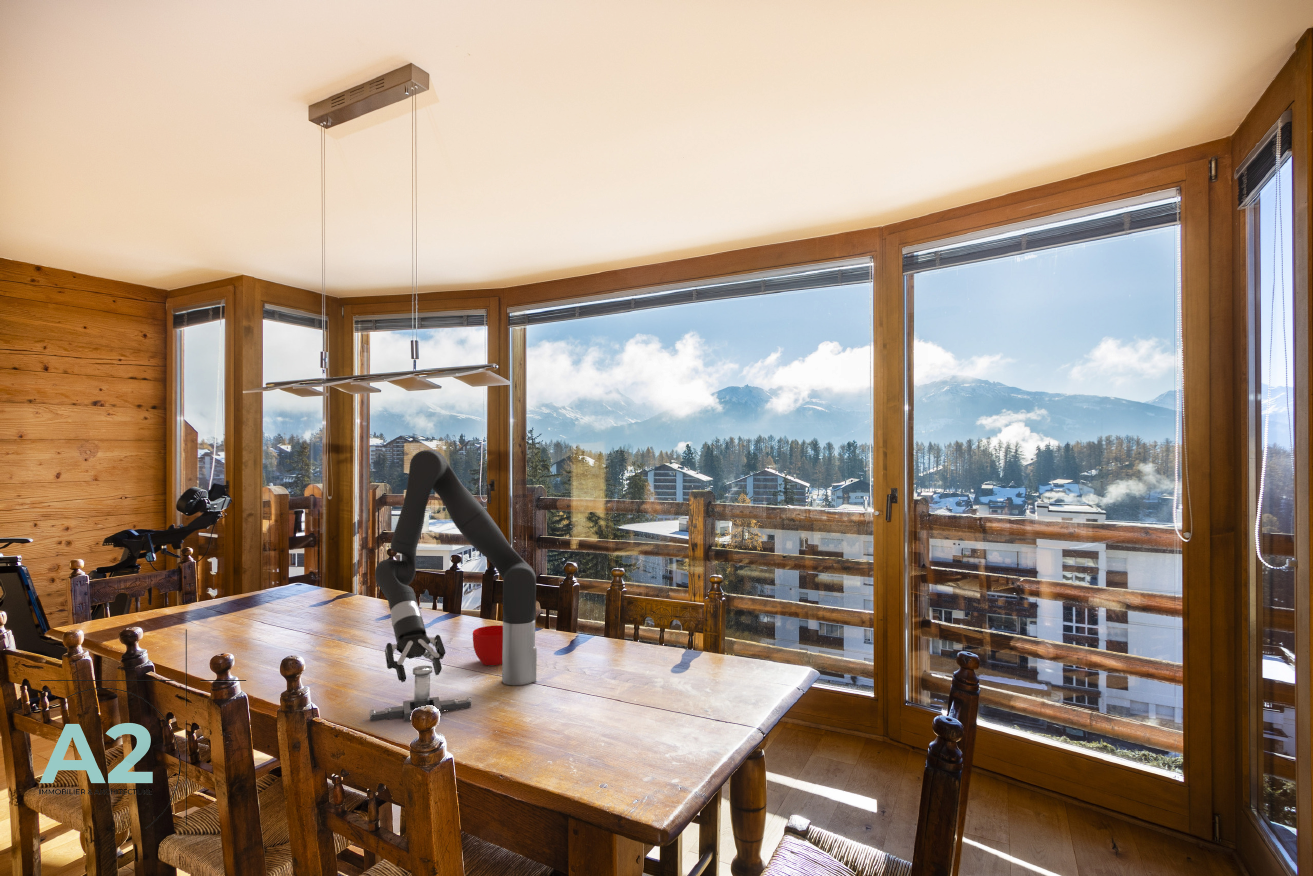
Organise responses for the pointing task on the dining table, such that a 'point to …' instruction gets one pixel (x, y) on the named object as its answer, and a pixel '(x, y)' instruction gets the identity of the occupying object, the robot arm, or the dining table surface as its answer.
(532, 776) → the dining table surface
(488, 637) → the ceramic cup
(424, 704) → the pin
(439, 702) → the tap wrench handle
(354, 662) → the dining table surface
